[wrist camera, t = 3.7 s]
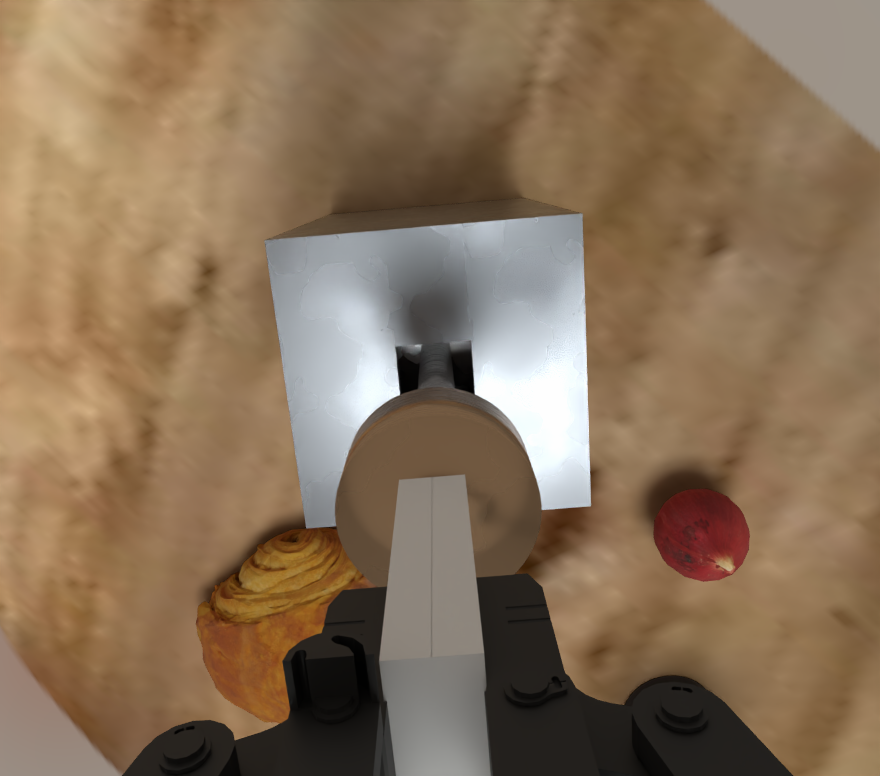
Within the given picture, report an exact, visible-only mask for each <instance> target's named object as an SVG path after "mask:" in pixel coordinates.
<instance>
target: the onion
mask: <svg viewBox="0 0 880 776" xmlns="http://www.w3.org/2000/svg"><path fill="white" fill-rule="evenodd" d="M749 538H750V534H749V528H748V526H747V523H746V520H745V517H744V515H743V513H742V511H741V510H740V508H739V507H738V506H737V505H735V504H734V503H733V502H732V501H731V500H730V499H729V498H728V497H727V496H725V495H723V494H720V493H717V492H715V491H712V490H709V489H688V490H685V491H683V492H680V493H677V494H675V495H674V496H672V497H671V498H670V499H669V500H667V501H666V502H665V503H664V504H663V506H662V508H661V509H660V511H659V513H658V515H657V516H656V518H655V520H654V540H655V544H656V546H657V548H658V550H659V552H660V554H661V556H662V558H663V560H664V561H665V562H666V563H667V564H668V565H669V566H670V567H672V568H673V569H675V570H676V571H677V572H679V573H680V574H682V575H683V576H685V577H688V578H692V579H696V580H699V581H703V582H704V581H714V580H720V579H722V578H725V577H727V576H729V575H732V574H733V573H734V572H735V571H736V570H737V569H738V568H739V567H740V566H741V565H742V563H743V561H744V559H745V557H746V555H747V553H748V550H749Z"/></svg>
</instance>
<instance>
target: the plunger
mask: <svg viewBox="0 0 880 776" xmlns="http://www.w3.org/2000/svg"><path fill="white" fill-rule="evenodd" d="M397 353H398V363H399V373H400V383H401V393H402V394H401V395H399V396H396V397H394V398H392V399H391V400H389V401H387V402H385V403H384V404H382V405H381V406H380V407H379V408H377V409H376V410H375V411H374V412H373V413H372V414H371V415H370V416H369V417H368V418H367V419H366V420H365V421H364V423H363V424H362V425H361V427H360V428H359V430H358V431H357V433H356V435H355V437H354V439H353V441H352V444H351V446H350V449H349V452H348V456H347V459H346V462H345V465H344V469H343V472H342V475H341V479H340V482H339V485H338V490H337V494H336V501H335V522H336V527H337V532H338V535H339V538H340V541H341V544H342V546H343V548H344V550H345V552H346V554H347V556H348V557H349V559H350V560H351V562H352V563H353V565H354V566H355V567H356V568H357V569H358V570H359V572H360V573H361V574H362V575H363V576H364V577H365V578H367V579H368V580H369V581H370V582H371V583H373V584H374V585H375V586H377V587H387V585H388V576H389V567H390V557H391V548H392V539H393V530H394V521H395V512H396V503H397V494H398V485H399V480H402V479H415V478H427V477H440V476H452V475H465V479H466V488H467V498H468V507H469V516H470V526H471V535H472V544H473V554H474V563H475V572H476V578H477V577H489V576H502V575H514V574H515V573H516V572H517V571H518V569H519V568H520V567H521V566H522V565H523V564H524V562H525V560H526V559H527V557H528V556H529V554H530V553H531V551H532V548H533V546H534V544H535V542H536V539H537V536H538V533H539V529H540V523H541V512H542V504H541V496H540V491H539V487H538V483H537V480H536V477H535V474H534V471H533V468H532V465H531V462H530V459H529V456H528V453H527V450H526V447H525V445H524V442H523V440H522V438H521V435H520V434H519V432H518V430H517V429H516V427H515V425H514V424H513V423H512V422H511V421H510V419H509V418H508V417H507V416H506V415H505V414H504V413H503V412H502V411H501V410H500V409H499V408H497V407H496V406H495V405H493V404H492V403H490V402H489V401H487V400H485V399H483V398H482V397H480V396H478V395H475V394H474V384H473V370H472V356H471V342H470V340H468V341H456V342H444V343H432V344H420V345H408V346H397Z"/></svg>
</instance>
